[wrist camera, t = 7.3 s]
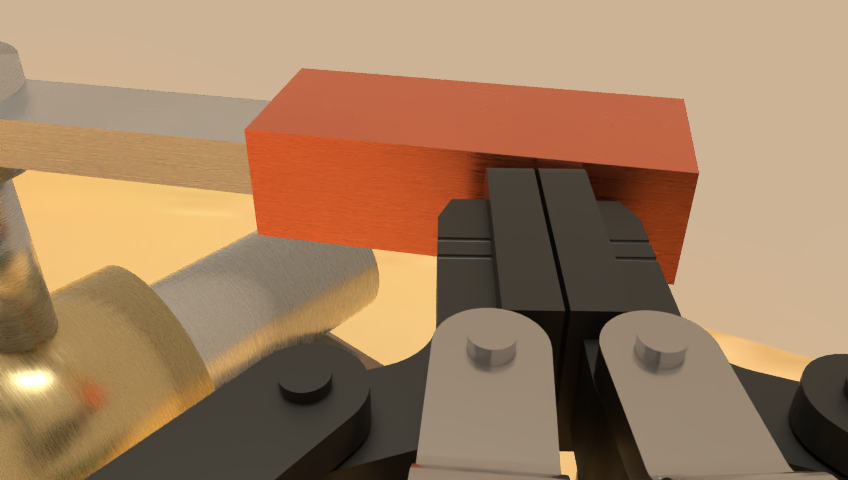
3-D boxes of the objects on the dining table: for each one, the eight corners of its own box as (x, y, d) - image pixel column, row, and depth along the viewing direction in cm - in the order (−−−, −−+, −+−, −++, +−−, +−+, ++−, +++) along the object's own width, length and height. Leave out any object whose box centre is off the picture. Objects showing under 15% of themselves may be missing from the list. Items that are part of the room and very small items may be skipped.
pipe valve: (291, 331, 30) (255, 28, 24) (403, 404, 27) (399, 75, 21) (-370, 752, 18) (-840, 353, 11) (-307, 982, 15) (-922, 613, 8)
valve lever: (-54, 121, 17) (-86, 33, 16) (662, 193, 15) (683, 94, 14) (-173, 189, 15) (-221, 90, 14) (674, 292, 12) (699, 179, 11)
